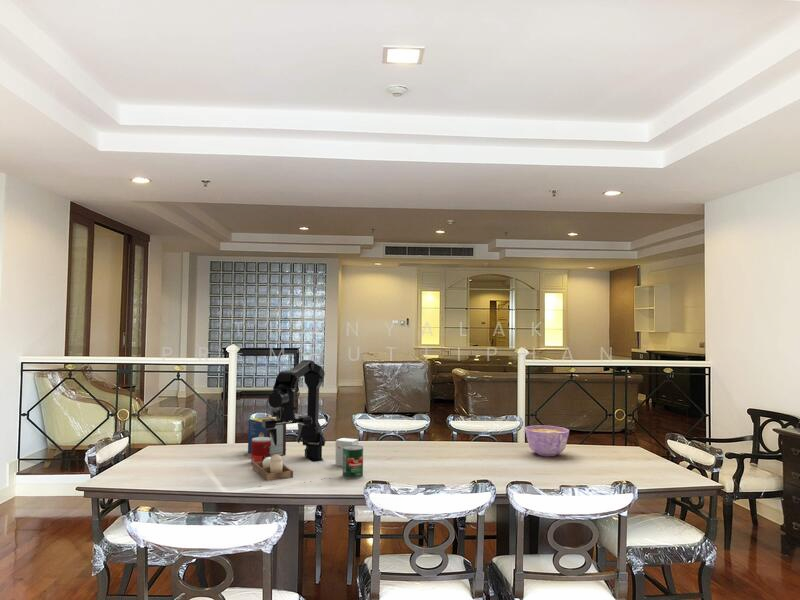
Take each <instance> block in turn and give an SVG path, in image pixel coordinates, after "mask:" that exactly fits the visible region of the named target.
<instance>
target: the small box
mask: <svg viewBox="0 0 800 600" xmlns="http://www.w3.org/2000/svg"><path fill="white" fill-rule="evenodd" d="M349 445H358V446H359V438H358V439H357V438H347V437H346V438H345V437H342V438H341V437H340V438H338V439H336V440H335V466H338V467H343V447H344V446H349Z"/></svg>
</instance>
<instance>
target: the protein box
mask: <svg viewBox="0 0 800 600" xmlns="http://www.w3.org/2000/svg"><path fill="white" fill-rule="evenodd" d="M270 418H272V419H274V420H276V417H272V416H261V417H254V418H253V417H251V418H248V431H247V432H248V435H247V439H248V440H247V453H248V454H251V447H252V439H253V438H256V437H269V438H271V457H272V456H273V455H275V454H278V455H280V456H281V457H282V456H285V455H286V454H287V450H286V449H287V424H283V425H276V426H275V428H276V429H277V445H276V446H275V444H274V441H273V438H272V435H271V433H270V431H269V430H267V429H265V428H264V427H262V420H263V419H270ZM279 420H280V419H279ZM282 422H284V421H282Z"/></svg>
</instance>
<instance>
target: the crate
mask: <svg viewBox="0 0 800 600" xmlns="http://www.w3.org/2000/svg"><path fill="white" fill-rule="evenodd" d="M262 463H263V462H253V464H252V469H253V471H255V473H257V474H259V476H261V477H262V478H263V479H264V480H265V481H268V482H269V481H276V480H284V479H292V478H293V477H294V471H293V470H292V469H291V468H289V467H288V466H286V464H284V463H283V470H282V472H278V473H270V467H264V468H263V465H262Z"/></svg>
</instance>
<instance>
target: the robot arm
mask: <svg viewBox="0 0 800 600" xmlns="http://www.w3.org/2000/svg"><path fill="white" fill-rule="evenodd" d="M325 374H326V373H325V370H324V369H323V367H322V366H320V365H319V364H317V363H315V362H314V360H312V359H303V360H301V361H300V362H299V363H297V364H296V365H295V366H293V367H292V368H291V369H286V370H281V371H280V372H279V373H278V374H277V377H276V379H275V381H274V385H273V388H272V393H270V395H269V396H268V398H267V401H268V404H269V406H270V407H271V411H270V412H271V413H270V414H271V416H270V417H273V418H276V420H274V419H272V418H270V419H263V420H262V427H264V428H265V429H267V430H269V431H270V433H271V435H272V438H273V441H274V444H275V446H276V445H277V429H276V428H275V426H276V425H283V424H286V425H291V424H297V429H298V430H297V443H298V444H300V442H301V441H302V446H305V448H304V458H305V459H307V460H308V461H310V462H317V461H323V460H324V458H323V455H322V454H323V447H325V445H326V438H325V435H324V433H323V429H322V425H321V424H320V422H319V412H320V411H319V407H320V406H319V405H320V387H321V386H322V384H323V383H324V378H325ZM301 377H304V384H305V385H306V387H307V407H306V408H307V413H306V414H305V415H304V414H303V415H298V418H297V417H295V416H296V414H295V413H296V411H295V410H296V409H297V408H296V391H297V390H298V389H297V385H298V384H299V382H300V381H299V379H300V378H301ZM279 419H280V420H279ZM282 421H284V422H282Z"/></svg>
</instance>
